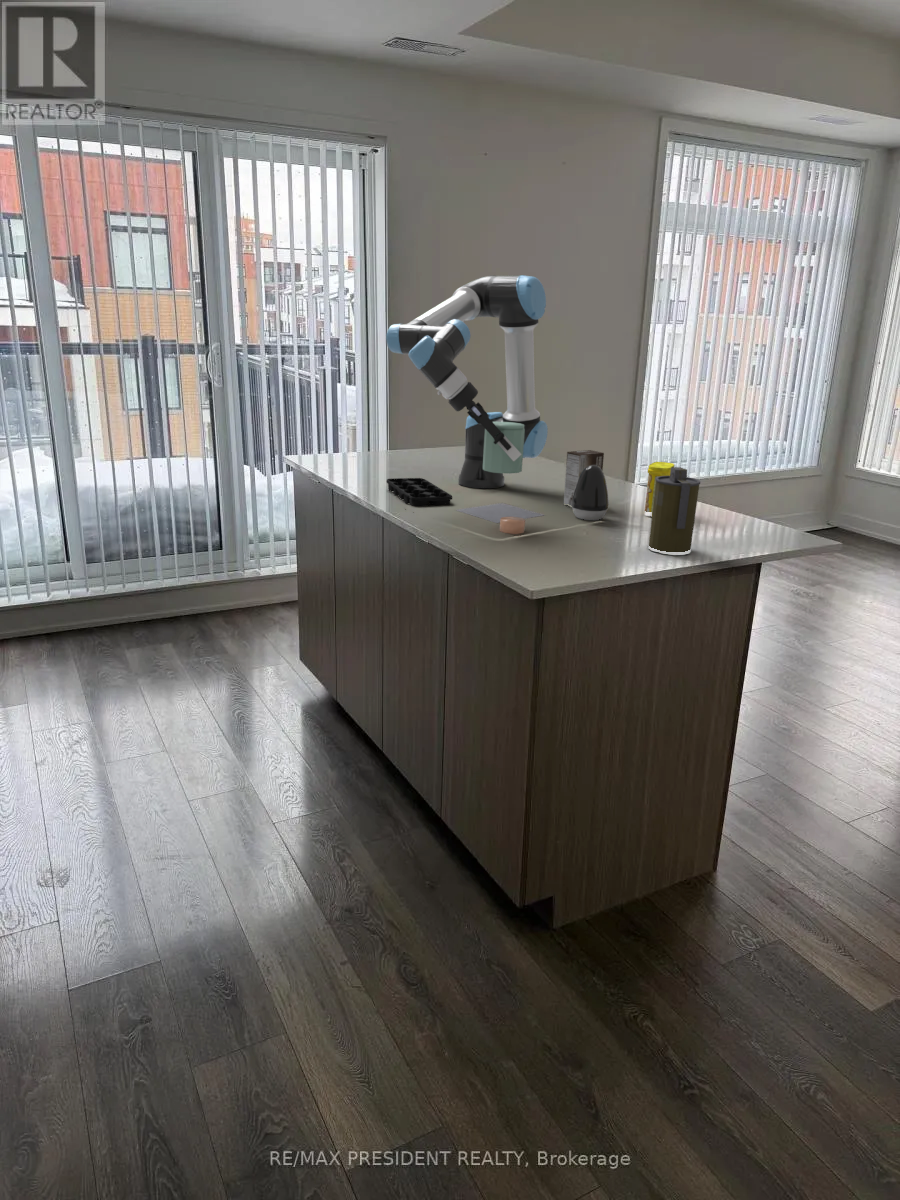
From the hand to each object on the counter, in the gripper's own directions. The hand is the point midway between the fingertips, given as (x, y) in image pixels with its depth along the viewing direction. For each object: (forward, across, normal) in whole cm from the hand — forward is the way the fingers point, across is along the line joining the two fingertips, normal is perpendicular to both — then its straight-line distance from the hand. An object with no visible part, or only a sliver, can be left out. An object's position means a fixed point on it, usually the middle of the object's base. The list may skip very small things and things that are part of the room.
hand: (514, 454), depth 219 cm
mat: (+12, -10, -14) cm, 21 cm away
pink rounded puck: (+13, +10, -14) cm, 21 cm away
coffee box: (+30, -23, +4) cm, 38 cm away
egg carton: (-3, -31, -30) cm, 43 cm away
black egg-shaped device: (+29, -6, +3) cm, 30 cm away
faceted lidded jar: (+1, 0, -5) cm, 5 cm away
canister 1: (+44, -14, +19) cm, 50 cm away
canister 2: (+39, +25, +12) cm, 48 cm away
